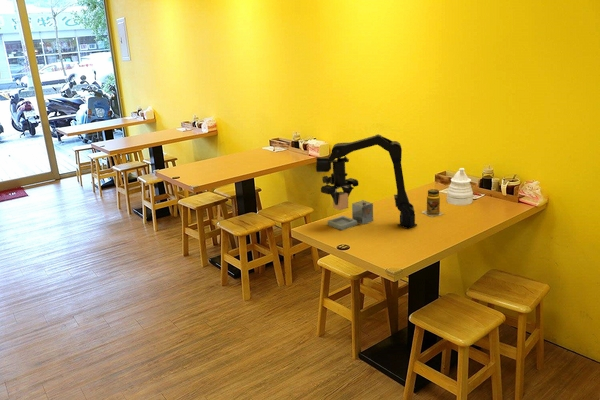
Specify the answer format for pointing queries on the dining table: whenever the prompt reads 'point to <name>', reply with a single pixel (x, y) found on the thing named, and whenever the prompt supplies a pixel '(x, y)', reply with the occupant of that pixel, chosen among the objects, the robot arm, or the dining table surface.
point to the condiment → (433, 203)
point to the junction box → (362, 212)
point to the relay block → (341, 201)
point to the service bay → (342, 222)
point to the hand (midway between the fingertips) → (340, 203)
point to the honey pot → (460, 189)
